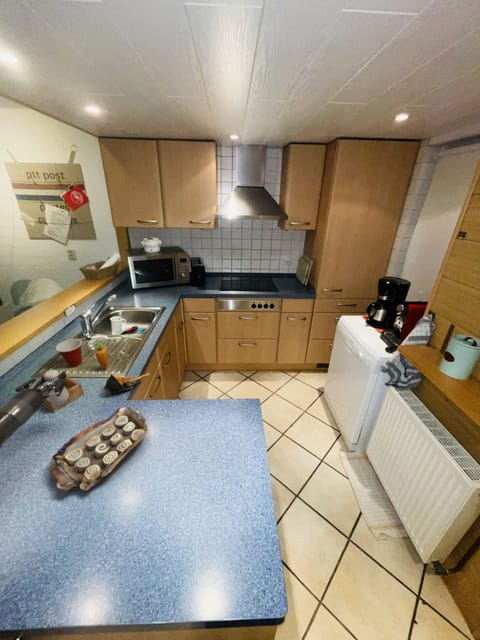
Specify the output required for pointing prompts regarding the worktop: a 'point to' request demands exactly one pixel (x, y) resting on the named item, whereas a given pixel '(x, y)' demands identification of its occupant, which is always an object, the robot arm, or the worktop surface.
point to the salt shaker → (51, 376)
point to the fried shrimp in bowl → (121, 383)
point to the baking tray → (97, 449)
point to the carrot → (102, 356)
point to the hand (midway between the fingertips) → (57, 373)
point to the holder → (73, 390)
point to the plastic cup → (71, 351)
